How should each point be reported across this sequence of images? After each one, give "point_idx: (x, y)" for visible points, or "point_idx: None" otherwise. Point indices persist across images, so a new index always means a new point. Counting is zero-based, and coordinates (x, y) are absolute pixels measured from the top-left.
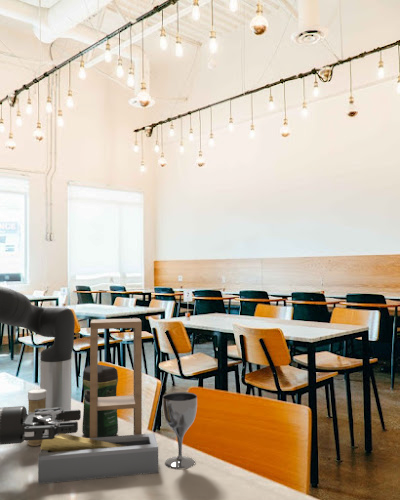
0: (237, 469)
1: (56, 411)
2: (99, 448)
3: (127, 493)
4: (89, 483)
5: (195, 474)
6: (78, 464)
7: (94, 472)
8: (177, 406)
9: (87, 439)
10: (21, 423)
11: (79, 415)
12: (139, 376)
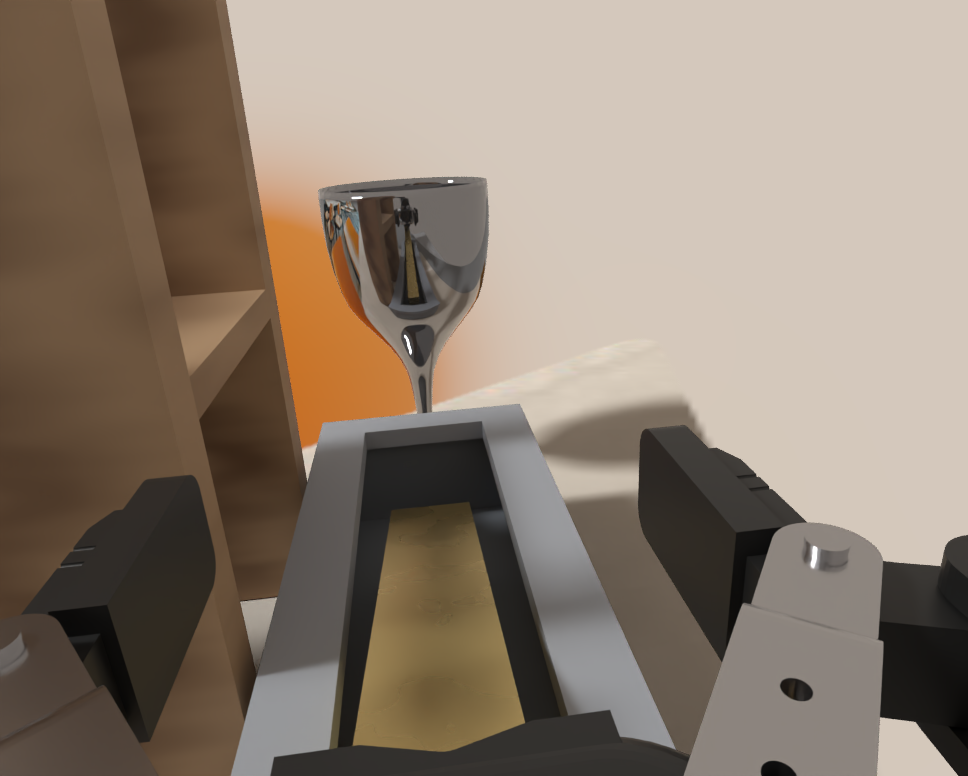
0: (510, 383)
1: (43, 702)
2: (528, 580)
3: None
4: None
5: (543, 437)
6: None
7: None
8: (487, 207)
9: (404, 635)
10: None
11: (202, 529)
12: (237, 86)
